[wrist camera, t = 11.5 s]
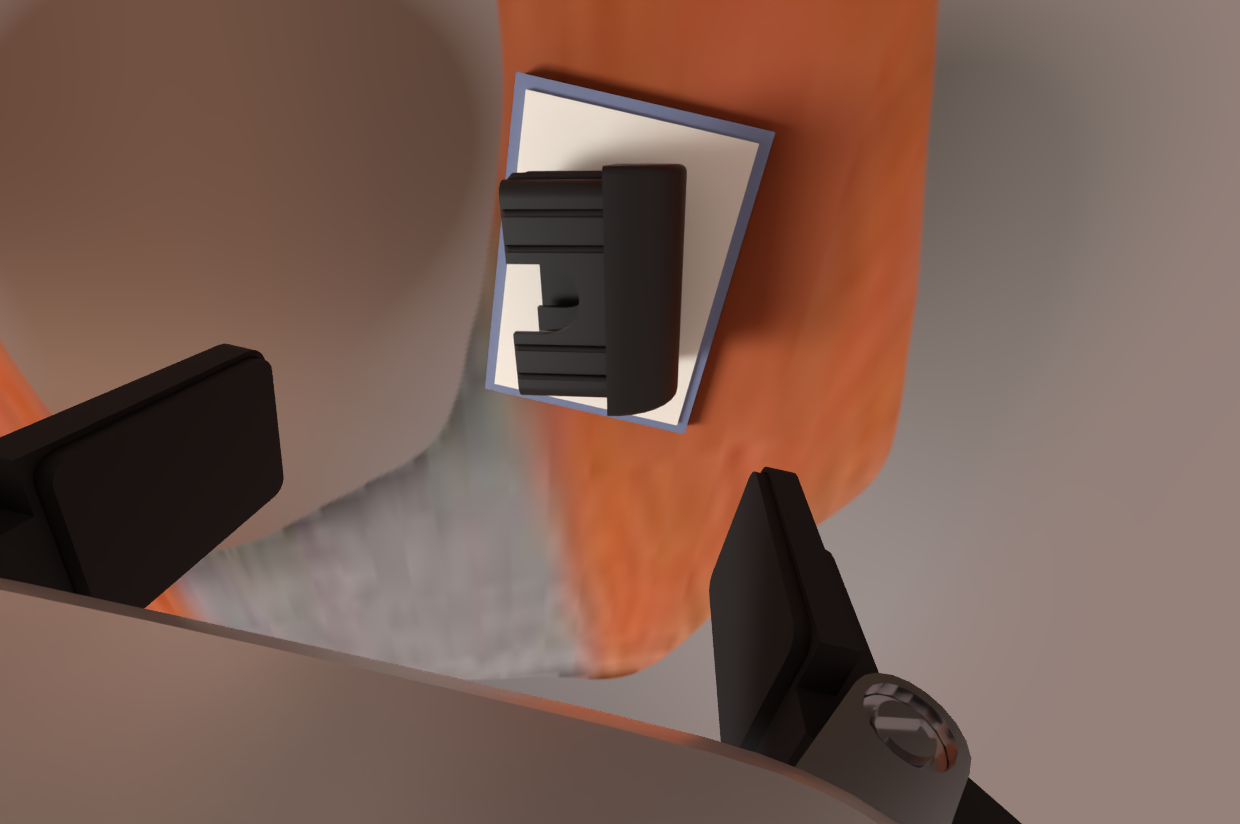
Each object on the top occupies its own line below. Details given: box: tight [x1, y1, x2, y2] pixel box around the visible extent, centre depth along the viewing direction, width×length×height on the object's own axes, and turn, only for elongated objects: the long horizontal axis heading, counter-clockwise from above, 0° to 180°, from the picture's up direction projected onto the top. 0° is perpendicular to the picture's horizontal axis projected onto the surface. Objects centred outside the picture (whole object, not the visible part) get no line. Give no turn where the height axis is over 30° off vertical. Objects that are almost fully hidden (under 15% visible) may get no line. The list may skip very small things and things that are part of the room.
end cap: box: [499, 163, 687, 416], centre depth 24 cm, size 10×7×7 cm
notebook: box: [485, 72, 775, 434], centre depth 28 cm, size 16×12×1 cm
